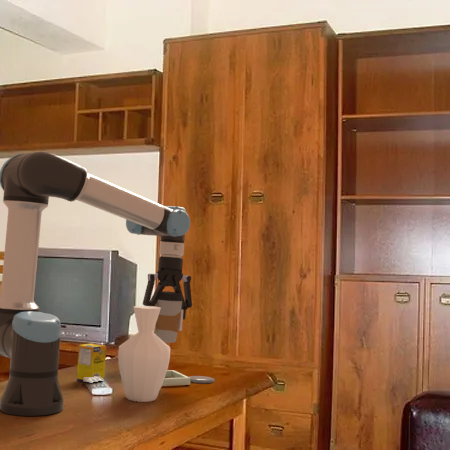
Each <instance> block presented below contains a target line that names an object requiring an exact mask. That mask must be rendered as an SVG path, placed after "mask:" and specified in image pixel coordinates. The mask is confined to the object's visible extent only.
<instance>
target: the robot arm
mask: <svg viewBox="0 0 450 450" xmlns="http://www.w3.org/2000/svg"><path fill="white" fill-rule="evenodd" d="M0 188H2V190H3V198H2V203H3V204H4V205H5V206H6V207H7V210H8V211H7V221H6V230H5V231H6V233H5V241H4V242H5V243H4V253H3V265H2V276H1V287H0V356H2V357H4V358H8V359H10V363H9V364H10V365H9V378H8V380H7V382H6V385H5V387H4V390H3V392H2V395H1V398H0V411H1V412H2V413H5V414H8V415H15V416H23V417H26V416H27V417H32V416H33V417H35V416H36V417H38V416H47V415H53V414H54V415H55V414H57V413H60V412H62V411H63V409H64V397H63V395H62V394H63V393H62V390H61V385H60V382H59V379H58V378H59V365H60V364H59V362H60V351H61V350H60V348H61V337H62V329H61V327H62V325H61V320H60V319H59V317H57V316H56V315H54V314H51V313H47V312H46V313H45V312H42V311H39V310H40V306H39V305H38V304H36V302H35V300H34V299H35V292H36V291H35V290H36V280H37V279H36V278H37V267H38V259H39V258H38V255H39V248H40V247H39V246H40V244H39V243H40V234H41V223H42V215H43V213H42V212H43V211H44V210H45V209H46V208H48V207H49V198H57V199H63V200H64V201H68V202H70V203H71V202H75V201H78V202H81V203H83V204H86V205H89V206H91V207H94V208H95V209H96V208H97V209H99V210H102V211H104V212H107V213H110V214H111V215H114V216H117V217H119V218H122V219H124V220H125V226H126V229H127V231H128V233H130V234H133V235H134V234H135V235H138V236H139V235H143V236H156V237H160V238H159V241H160V242H159V252H158V253H159V255H160V256H159V257H158V264H157V265H158V267H157V272H156V273H148V274H147V285H146V288H145V292H144V297H143V301H142V306H154V307H156V303H157V301H158V299H157V298H158V295H159V292H162V291H164V290H165V288H166V287H172V289H173V290H174V292H176V293H182V297H183V301H182V306H181V315H180V322H179V328H178V332H179V331H180V332H182V331H183V322H184V320H186V316H187V315H186V314H187V310H188V309H191V308H192V307H193V301H192V290H191V282H192V281H191V280H192V277H191V275H184V273H183V268H184V267H183V266H184V258H183V256H184V251H185V238H186V234H187V233H188V232H189V230H190V227H191V219H190V215H189V214H188V212H187V210H186V208H185V207H181V206H174V205H173V206H172V205H166V206H165V205H163V204H160V203H158V202H156V201H153V200H151V199H149V198H146V197H144V196H142V195H139V194H137V193H134V192H132V191H130V190H128V189H125V188H123V187H121V186H119V185H117V184H115V183H111V182H109V181H107V180H104V179H102V178H100V177H98V176H95V175H93V174H90V173H88V171H87V169H86V167H84V166H81V165H80V164H77V163H75V162H73V161H71V160H68V159H67V158H64V157H61V156H60V155H58V154H55V153H52V152H49V151H43V150H42V151H35V152H34V151H33V152H27V153H19V154H17V155H14V156H12V157H10V158H9V159H7V160H6V161H5V162H4V163H3V164H2V167H1V168H0ZM157 279H158V281H159V282H158V284H157V285H156V288H155V291H154V286H155V282H156V280H157ZM181 280H182V282H183V283H182V284H183V292H182V289H181V288H182V287H181V284H180V282H181ZM153 291H154V292H153ZM183 293H184V295H183ZM152 294H153V295H152ZM154 331H156V327H155V328H154Z"/></svg>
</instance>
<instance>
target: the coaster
mask: <svg viewBox="0 0 450 450" xmlns="http://www.w3.org/2000/svg"><path fill="white" fill-rule="evenodd" d="M188 377H189V378H190V383H192V382H193V384H204V385H205V384H212V383H215V378H214V377H211V376H204V375H203V376H202V375H192V376H191V375H190V376H188Z"/></svg>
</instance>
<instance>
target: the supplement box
mask: <svg viewBox="0 0 450 450" xmlns="http://www.w3.org/2000/svg"><path fill="white" fill-rule="evenodd" d="M77 352H78V353H77V354H78V357H77V373H76V375H77V376H76V381H77V382H80V383H81V382H82V383H84V382H83V378H84V377H94V376H101V377H102V378H103V379H104V380H105V374H106V373H105V372H106V359H107V358H106V357H107V356H106V354H107V345H103V344H98V343H83V344H79V345H78V351H77Z"/></svg>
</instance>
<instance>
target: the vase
mask: <svg viewBox="0 0 450 450" xmlns="http://www.w3.org/2000/svg"><path fill="white" fill-rule="evenodd" d="M132 308H133V312H134V316H135V321H136V326H137V327H136V328H137V331H138V332H136V333H134V334H135V335H134V336H132V337H131V338H130V337H129V338H128V339H127V340H126V341H124V342H122V343H121V344H120V345H118V355H117V359H118V360H117V361H118V370H119V374H120V379H121V383H122V387H123V390H124V394H125V397H126V398H127V400H129V401H132V402H136V401H137V402H140V403H141V402H143V403H144V402H146V403H147V402H152V401H156V399H158V396H159V393H160V390H161V389H162V387H163V386H162V384H163V381H164V378H166V377H165V375H166V372H167V370H169V364H170V359H171V347H170V346H169V345H168V343H165V342H163V341H162V340H161V339H160V338H159V337H158V336H156V335H155V334H156V333H154V331H155V330H154V328H155V329H156V322H157V319H158V316H159V312H160V309H161V308H160V307H156V306H155V307H154V306H144V305H135V306H133V307H132Z"/></svg>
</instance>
